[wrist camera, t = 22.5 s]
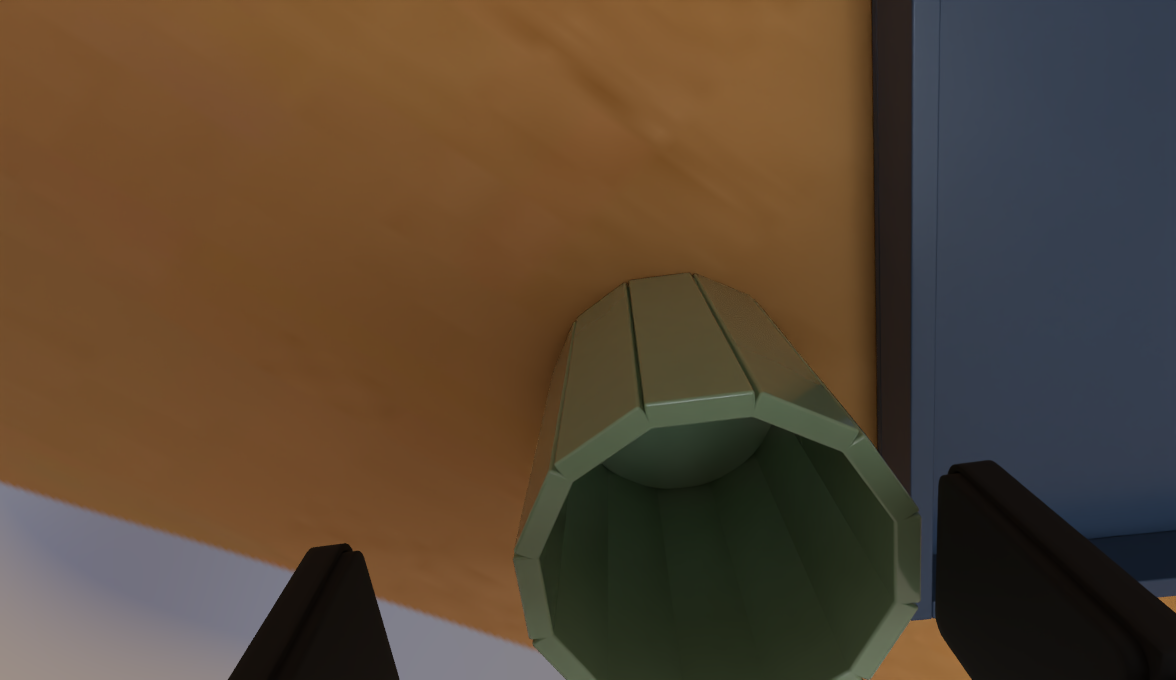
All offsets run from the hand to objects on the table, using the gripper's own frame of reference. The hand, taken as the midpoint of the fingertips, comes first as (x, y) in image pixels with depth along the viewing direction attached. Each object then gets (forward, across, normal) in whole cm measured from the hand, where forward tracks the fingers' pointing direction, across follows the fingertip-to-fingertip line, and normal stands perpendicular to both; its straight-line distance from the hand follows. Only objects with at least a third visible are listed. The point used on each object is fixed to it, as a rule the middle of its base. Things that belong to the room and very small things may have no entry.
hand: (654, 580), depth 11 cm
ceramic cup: (+9, -1, +1) cm, 9 cm away
